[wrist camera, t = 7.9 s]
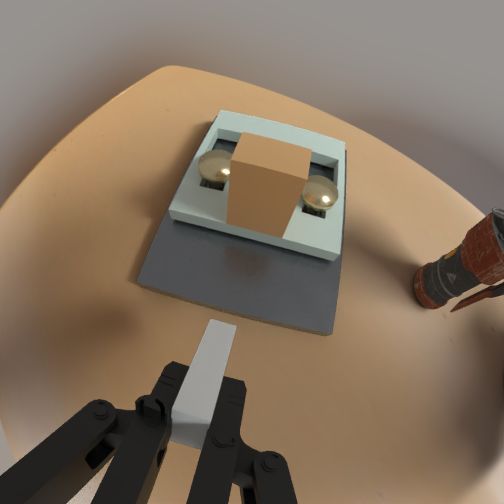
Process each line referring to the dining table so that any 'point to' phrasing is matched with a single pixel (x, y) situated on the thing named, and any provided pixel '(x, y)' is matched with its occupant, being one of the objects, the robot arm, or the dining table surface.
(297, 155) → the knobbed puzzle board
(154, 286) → the mounting plate
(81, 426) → the robot arm
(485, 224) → the grenade
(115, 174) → the dining table surface
